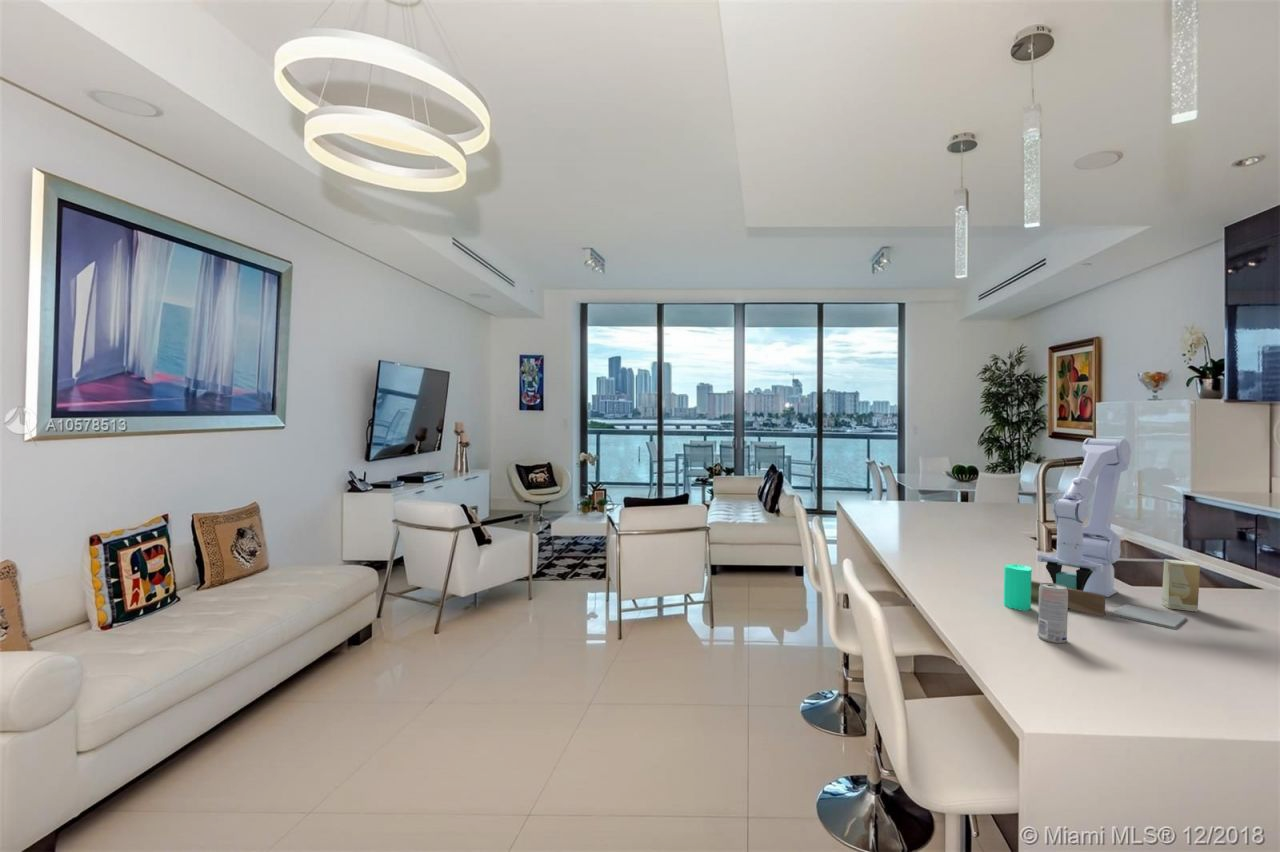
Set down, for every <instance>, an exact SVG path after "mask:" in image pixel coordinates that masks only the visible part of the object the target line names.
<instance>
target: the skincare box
mask: <svg viewBox="0 0 1280 852" xmlns="http://www.w3.org/2000/svg"><path fill="white" fill-rule="evenodd" d="M1162 571H1163V573H1162V574H1163V575H1162V587H1161V588H1162V589H1161V590H1162V591H1161V604H1162V605H1163V606H1164V607H1166V608H1168V609H1169V610H1171V609H1172V610H1179V611H1189V612H1194V611H1195V612H1196V613H1197V612H1198V610H1199V607H1198V606H1199V593H1200V590H1199V589H1200V574H1201V573H1200V572H1201V566H1200V565H1199V564H1197V563H1195V562H1193V561H1185V560H1176V559H1166V558H1165V559H1164V560H1163V570H1162Z"/></svg>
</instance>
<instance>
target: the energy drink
mask: <svg viewBox="0 0 1280 852" xmlns="http://www.w3.org/2000/svg"><path fill="white" fill-rule="evenodd" d="M1068 610H1069V609H1068V590H1067V587H1065V586H1063V585H1059V584H1054V583H1053V582H1042V583H1041V584H1040V586H1039V602H1038V610H1037V612H1038V613H1037V615H1038V616H1037V617H1038V618H1037V636H1038V637H1039V639H1040V640H1043V641H1044V642H1045V641H1046V642H1049V643H1052V644H1054V643H1055V644H1064V643H1067V641H1068V612H1069V611H1068Z"/></svg>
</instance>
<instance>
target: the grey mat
mask: <svg viewBox="0 0 1280 852" xmlns="http://www.w3.org/2000/svg"><path fill="white" fill-rule="evenodd" d="M1111 616H1113V617H1118V618H1122V619H1127V620H1131V621H1136V622H1140V623H1143V624H1148V625H1149V624H1150V625H1153V626H1159V627H1163V628H1167V629H1172V630H1176V629H1177V628H1178V627H1179V626H1180V625H1181V624H1182V623H1184V622H1185V621H1186V620H1187V616H1185V615H1181V614H1175V613H1170V612H1167V611H1162V610H1157V609H1151V608H1148V607H1147V608H1146V607H1141V606H1137V605H1132V604H1128V603H1127V604H1126V603H1125V604H1124V605H1121V606H1120V607H1119V608H1117V609H1115V610H1114V611H1112V612H1111Z"/></svg>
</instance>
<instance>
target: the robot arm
mask: <svg viewBox="0 0 1280 852" xmlns="http://www.w3.org/2000/svg"><path fill="white" fill-rule="evenodd" d="M1081 446H1082V447H1081V450H1082V456H1083V463H1082V465H1081V468H1080V470H1079V474H1078V476H1077V477H1074V478H1072V479H1071V480H1070V481H1069V484H1068V486H1067V488H1066V490H1065V492H1064V493H1063V496H1062V498H1058V499H1057V500H1055V502H1054V504H1053V508H1052V513H1053V517H1054V523H1055V524H1054V525H1056V526H1057V527H1056V555H1055V554H1053V555H1052V554H1043V553H1039V554H1037V559H1036V561H1037V562H1040V563H1042V562H1043V563H1046V565H1045V568H1046V570H1047V572H1048V574H1049V576H1050V578H1051V581H1052V583H1054V584H1056V574H1057V573H1059V572H1062V568H1063V566H1065V567H1070V568H1075V569H1077V570H1075V574H1077V590H1081V591H1086V592H1091V593H1096V594H1101V595H1106V598H1109V597H1111V596H1113V595H1115V594H1116V593H1118V592H1119V590H1118V589H1115V568H1114V566H1113V564H1115V563H1116V562H1117V561H1119V559H1120V557H1121V554H1122V553H1121V551H1122V550H1121V547H1122V546H1121V538H1120V536H1119V535H1118V534H1117V533H1116V532H1115V531H1114V530H1112V528H1111V526H1112V520H1113V515H1114V510H1115V504H1116V498H1117V493H1118V488H1119V482H1120V478H1121V473H1122V472H1125V471H1127V470H1128V467H1129V464H1130V459H1131V454H1132V450H1131V445H1130V442H1129V441H1128V440H1127V439H1126V438H1121V439H1117V438H1115V439H1113V438H1093V437H1087V438H1086V439H1085V440H1083V443H1082V445H1081ZM1096 479H1097V480H1096ZM1095 480H1096V484H1094V482H1095ZM1093 494H1094V495H1093ZM1092 496H1093V500H1092V506H1091V511H1090V516H1089V508H1090V500H1091V498H1092ZM1088 516H1089V521H1088V524H1087V525H1084V522H1085V521H1086V520H1087V519H1088Z"/></svg>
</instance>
